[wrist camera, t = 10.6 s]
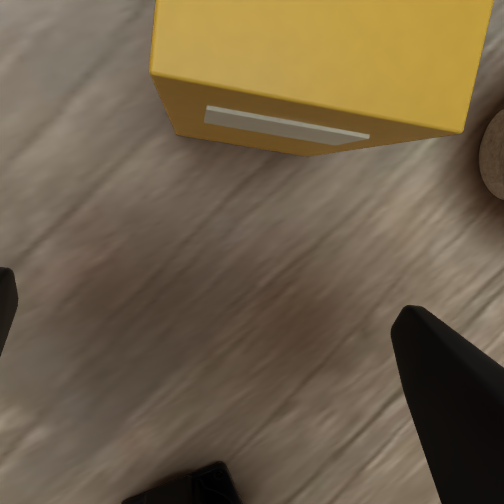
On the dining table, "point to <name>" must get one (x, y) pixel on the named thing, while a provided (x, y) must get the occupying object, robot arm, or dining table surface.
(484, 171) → the pottery
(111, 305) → the dining table surface
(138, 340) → the dining table surface
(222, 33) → the storage box
